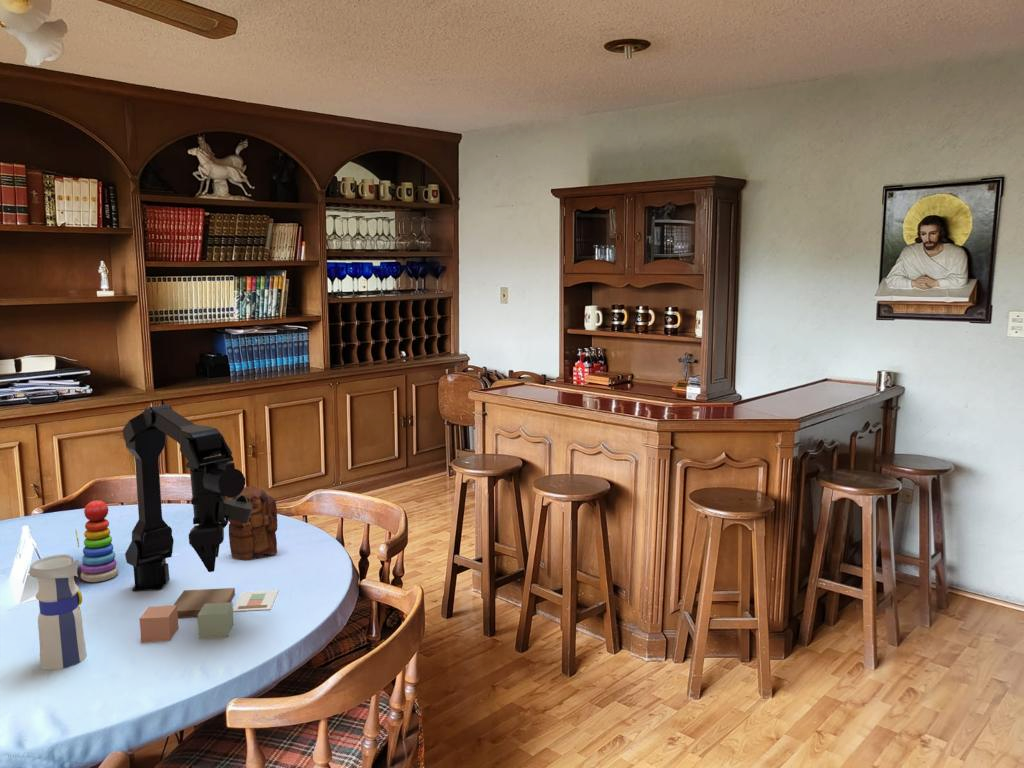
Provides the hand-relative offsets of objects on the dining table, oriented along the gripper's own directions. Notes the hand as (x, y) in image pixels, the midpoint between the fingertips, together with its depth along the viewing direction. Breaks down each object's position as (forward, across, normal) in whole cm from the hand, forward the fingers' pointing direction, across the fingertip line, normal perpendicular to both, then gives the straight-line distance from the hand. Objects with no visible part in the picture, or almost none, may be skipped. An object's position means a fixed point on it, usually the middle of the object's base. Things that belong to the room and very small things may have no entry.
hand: (213, 564), depth 163 cm
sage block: (+13, -4, 0) cm, 14 cm away
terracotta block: (+12, -2, +11) cm, 17 cm away
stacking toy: (+11, +34, +29) cm, 46 cm away
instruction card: (+12, +9, -7) cm, 17 cm away
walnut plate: (+12, +10, +4) cm, 16 cm away
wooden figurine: (+11, +38, -6) cm, 40 cm away
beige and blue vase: (+12, -8, +27) cm, 31 cm away
